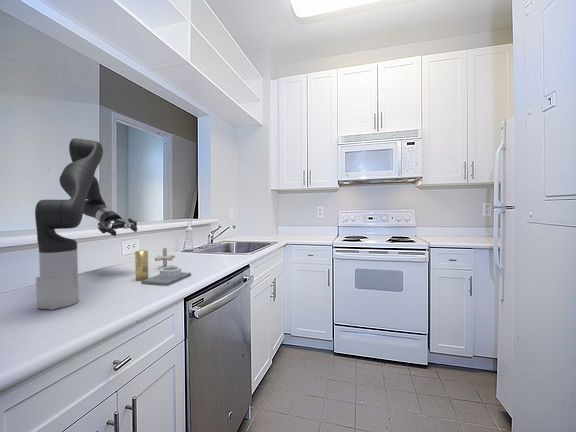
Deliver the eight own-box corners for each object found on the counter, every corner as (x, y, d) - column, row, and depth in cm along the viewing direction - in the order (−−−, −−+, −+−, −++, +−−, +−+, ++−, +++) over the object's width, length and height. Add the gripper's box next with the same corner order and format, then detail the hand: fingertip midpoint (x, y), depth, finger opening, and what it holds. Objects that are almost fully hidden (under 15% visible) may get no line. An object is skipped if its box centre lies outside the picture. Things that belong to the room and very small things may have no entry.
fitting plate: (167, 285, 105) (167, 275, 105) (141, 283, 108) (141, 273, 108) (191, 275, 121) (190, 266, 121) (167, 274, 124) (167, 265, 123)
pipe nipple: (142, 281, 112) (142, 252, 112) (133, 280, 113) (132, 252, 113) (151, 278, 117) (150, 250, 116) (141, 277, 118) (141, 250, 117)
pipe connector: (179, 266, 138) (179, 247, 138) (161, 270, 130) (161, 250, 129) (168, 264, 143) (167, 246, 143) (149, 268, 135) (149, 248, 135)
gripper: (90, 212, 118) (107, 227, 110) (124, 208, 129) (142, 221, 122) (90, 228, 120) (107, 243, 112) (124, 222, 132) (142, 236, 124)
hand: (126, 231), depth 117 cm, fingers open, 8 cm apart
